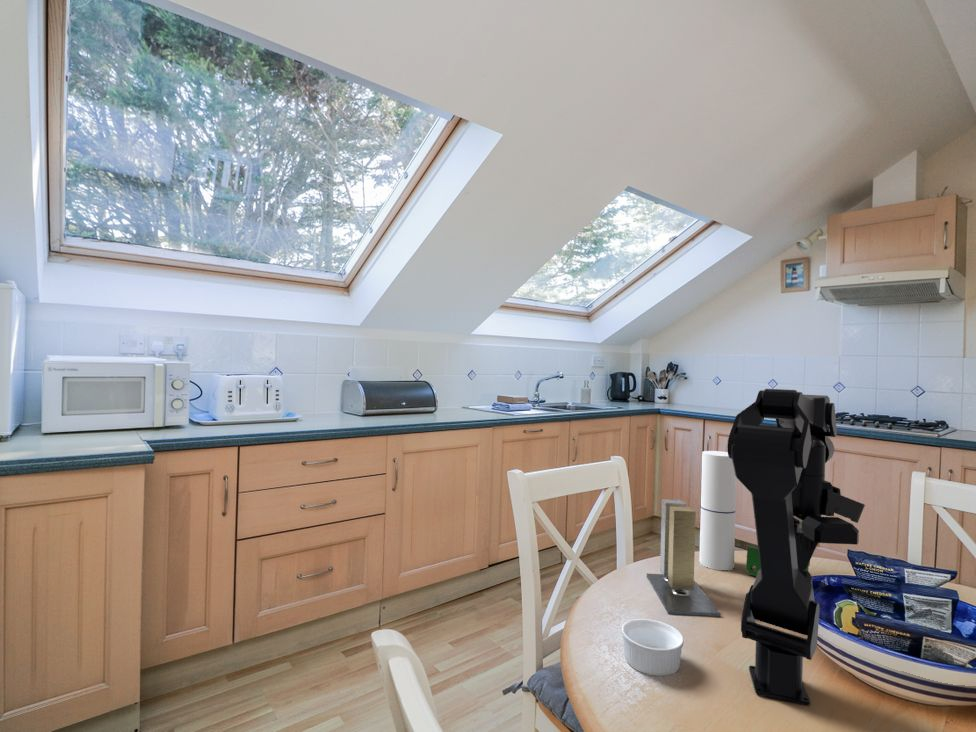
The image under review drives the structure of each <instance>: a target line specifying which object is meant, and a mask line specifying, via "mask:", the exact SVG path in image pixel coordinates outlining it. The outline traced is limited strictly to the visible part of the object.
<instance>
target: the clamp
mask: <svg viewBox="0 0 976 732" xmlns="http://www.w3.org/2000/svg"><path fill="white" fill-rule="evenodd" d="M745 563H746V564H745V565H746V566H745V570H746V571H747V573H748V574H749V575H751V576H754V577H756V576H757V573H758V571H759V570H760V560H759V552H758V546H747V553H746V562H745ZM810 563H811V561H810V562H809V564H808V566H807V569H806V570H804V571H808V572H809V567H810V566H811V564H810ZM753 567H754V568H755V570H754V569H753Z"/></svg>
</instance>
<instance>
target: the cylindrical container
mask: <svg viewBox="0 0 976 732" xmlns="http://www.w3.org/2000/svg"><path fill="white" fill-rule="evenodd" d="M701 454H702V455H701V479H700V481H701V484H700V491H701V492H700V518H699V519H700V521H699V522H700V524H699V526H700V527H699V529H700V530H699V556H698V557H699V559H698V560H699V562H700V563H699V562H698V563H699V564H700V565H701V566H703V567H704V568H707V567H708V568H707V569H710V570H714V569H715V570H714V571H721V570H728V571H732V570H734V569H733V568H735V546H736V545H735V544H736V543H735V541H736V540H735V539H736V538H735V536H736V507H737V505H736V503H737V499H736V498H737V478H736V476H735V471H734V466H733V462H732V459H730V458H729V456H728V451H720V450H704V451H702V452H701ZM731 569H732V570H731Z"/></svg>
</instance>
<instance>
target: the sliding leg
mask: <svg viewBox="0 0 976 732" xmlns="http://www.w3.org/2000/svg"><path fill="white" fill-rule="evenodd" d="M696 513H697V512H696V511H695V509H694V508H692V507H689V506H686V507H673V506H670V518H669V557H668V583H669V585H670V586H671V588H672V589H678V590H679V591H683V590H694V581H695V553H696V552H695V551H696V549H695V546H696Z"/></svg>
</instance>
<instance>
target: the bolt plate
mask: <svg viewBox="0 0 976 732" xmlns="http://www.w3.org/2000/svg"><path fill="white" fill-rule="evenodd" d="M670 506H673V507H687V503H686V502H685V501H683V500H682V499H664V498H663V499H661V517H660V518H661V519H660V520H661V521H660V523H661V525H660V559H659V560H660V561H659V563H660V564H659V565H660V566H659V571H660V573H661V574H660V573H646V579H648V581H649V583H650V585H651V586H652V587H651V588H653V590H654V592H655V594H656V595H657V597H658V598H659V600H660V602H661V604H662V605H663V608H664V609H665V611H666V613H667V614H668V615H684V616H699V617H716V618H718V617H719V618H720V617H721V613H720V611H719V610H718V608H717V607H715V605H714V604H713V602H712V601H711V599H709V597H708V596H707V595H706V594H705V591H703V590H702V588H701V587H700V586H699V584H697V582H696V581H695V580H694V590H683V591H679V590H678V589H672V588H671V586H670V585H669V583H668V557H669V518H670Z"/></svg>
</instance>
